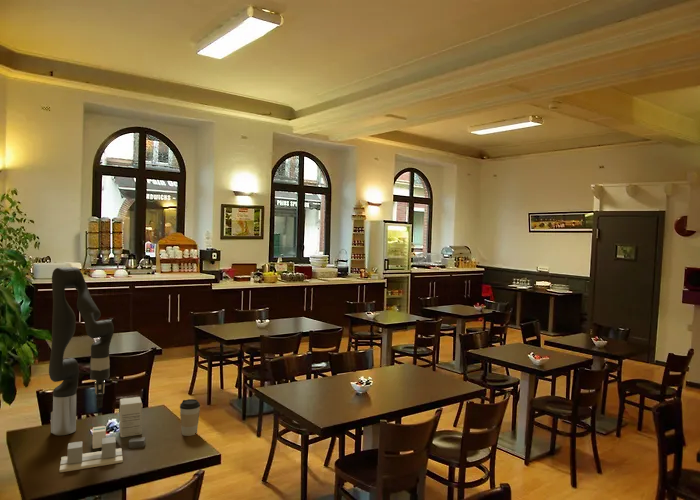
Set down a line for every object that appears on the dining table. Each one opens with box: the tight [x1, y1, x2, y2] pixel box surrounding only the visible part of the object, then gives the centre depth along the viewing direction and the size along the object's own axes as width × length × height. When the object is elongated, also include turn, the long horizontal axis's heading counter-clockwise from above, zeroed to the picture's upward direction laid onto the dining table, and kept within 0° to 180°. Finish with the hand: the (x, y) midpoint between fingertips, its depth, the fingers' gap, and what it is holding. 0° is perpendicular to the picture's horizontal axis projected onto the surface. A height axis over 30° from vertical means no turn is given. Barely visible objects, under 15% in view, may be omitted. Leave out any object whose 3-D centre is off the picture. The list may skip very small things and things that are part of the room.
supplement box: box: [119, 396, 143, 438], centre depth 232 cm, size 9×9×15 cm
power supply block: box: [128, 436, 146, 449], centre depth 219 cm, size 6×4×3 cm, turn 103°
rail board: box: [59, 436, 124, 473], centre depth 203 cm, size 22×12×7 cm, turn 116°
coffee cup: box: [179, 398, 201, 437], centre depth 234 cm, size 9×9×15 cm
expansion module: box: [92, 425, 107, 449], centre depth 218 cm, size 5×6×7 cm
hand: (99, 404), depth 218 cm, fingers open, 8 cm apart
